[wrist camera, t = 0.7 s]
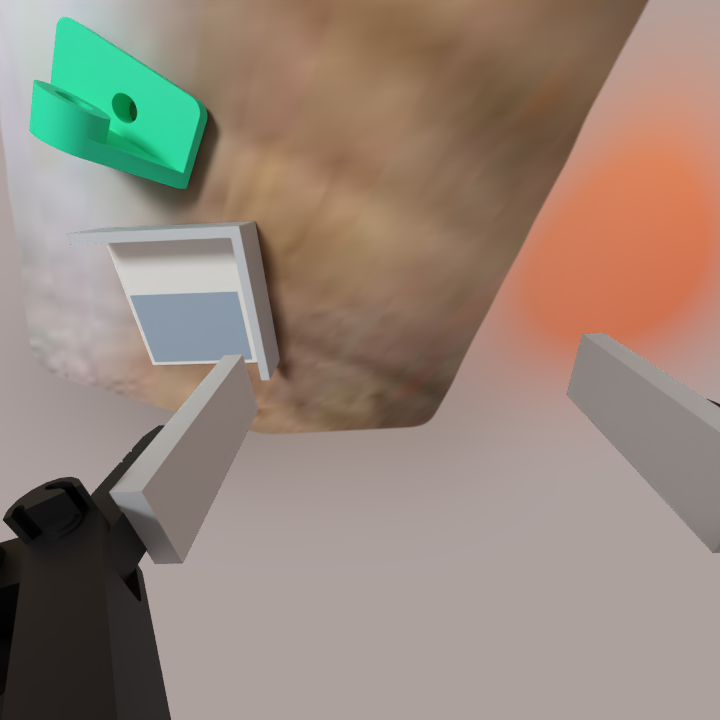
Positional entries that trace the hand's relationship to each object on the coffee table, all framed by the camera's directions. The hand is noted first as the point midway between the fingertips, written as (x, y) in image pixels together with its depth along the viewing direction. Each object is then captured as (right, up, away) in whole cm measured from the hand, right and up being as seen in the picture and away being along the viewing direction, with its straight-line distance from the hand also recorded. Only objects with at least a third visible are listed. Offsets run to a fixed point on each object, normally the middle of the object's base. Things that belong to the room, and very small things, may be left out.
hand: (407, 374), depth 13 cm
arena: (-22, +7, +27) cm, 35 cm away
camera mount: (-23, +24, +19) cm, 38 cm away
